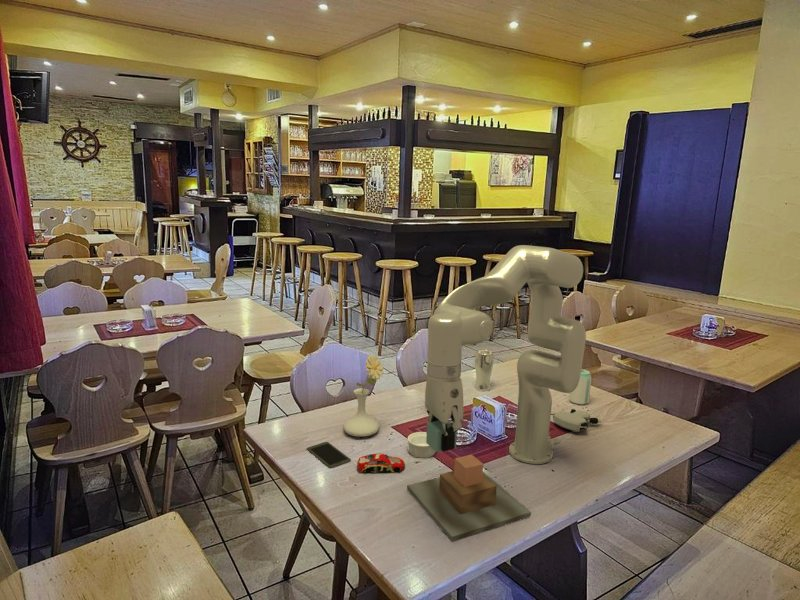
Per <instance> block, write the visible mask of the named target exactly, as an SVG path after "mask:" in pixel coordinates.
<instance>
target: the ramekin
mask: <svg viewBox="0 0 800 600" xmlns="http://www.w3.org/2000/svg"><path fill="white" fill-rule="evenodd" d="M426 436H427V431H416V432H413V433H411V434H409V435H408V436H407V443H408V452H409V454H410V455H411V456H413V457H415V458H418V459H427V458H432V457H433V456H434V455H435V454H436V453H437V452H436V451H435V450H434V449H433V448H431V447H430V446H429V445H428V444H427V443H426Z"/></svg>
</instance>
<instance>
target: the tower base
mask: <svg viewBox="0 0 800 600" xmlns="http://www.w3.org/2000/svg"><path fill="white" fill-rule="evenodd" d="M406 489H407V491H408V493H409V494H410V495H411V496H412V497H413V498H414V499H415V500H416V502H417V503H418V504H419V505H420V507H422V509H423V510H424V511H425V512H426V513H427V514H428V516H430V518H431V519H432V520H433V521H434V523H435V524H436V526H438V527H439V529H440V530H441V531H442V532H443V533H444V534H445V535H446V537H447V538H449V540H450V541H451V542H454V541H455V542H456V541H458V540H461V539H465V538H468V537H470V536H474V535H477V534H480V533H483V532H486V531H489V530H493V529H495V528H496V529H497V528H499V527H502V526H506V525H509V524H511V522H512V523H514V522H518V521H521V520H524V519H527V517H528V518H530V516H532V515H531V514H532V511H531V510H529V509H528V508H527V507H526V506H525V505H523V504H522V503H521V502H520V501H519V500H517V499H516V498H515V497H514V496H513V495H511V494H510V492H508V491H507V490H505V489H504V488H503V487H502V486H501V485H500V484H499V483H497V482H496V481H495V480H494V479H493V478H492V477H490V476H489V475H488V474H486V472H484V471H483V476H482V483H479V484H476V485H472V486H468V487H464V486H463V485H462V484H461V483H460V482H459V481H457V480H456V479H455V478H454V470H451V471H447V472H444V473H440V474H439V477H434V478H431V479H427V480H424V481H419V482H416V483H415V482H414V483H411V484H408V485H407V486H406ZM523 518H524V519H523ZM520 519H521V520H520ZM508 523H509V524H508ZM505 524H506V525H505Z"/></svg>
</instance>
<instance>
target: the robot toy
mask: <svg viewBox="0 0 800 600" xmlns="http://www.w3.org/2000/svg"><path fill="white" fill-rule="evenodd" d="M551 416H552V421H553V423H555V424H556V425H558V426H560V427H561V428H563V429H566V430H569V431H570V430H571V431H572V432H574V433H580V431H584V430H586V429H588V424H589V423H590V424H591V425H597V424H598V423H602V422H603V421H602V420H601V419H600V418H598V417H591V413H588V411H584V410H580V409H577V410H576V409H574V408H572V409H571V410H570V412H568V411H564V410H561V411H558V412H557V411H556V412H555V413H551Z"/></svg>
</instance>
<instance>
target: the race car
mask: <svg viewBox="0 0 800 600" xmlns="http://www.w3.org/2000/svg"><path fill="white" fill-rule="evenodd" d="M356 463H357V464H356V465H357V467H356V468H357V471H358V472H359V473H360V472H361V473H363V474H364V473H365V474H367V475H370V474H372V473H373V474H374V473H375V474H380V473H394V474H400V472H403V471H404V469H405V468H406V467H405V466H406V463H405V461H404V459H402V458H401V457H397V456H390V455H388V454H387V453H386V454H385V453H372V454H366V455H363V456H360V457H358V460H357V462H356Z"/></svg>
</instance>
